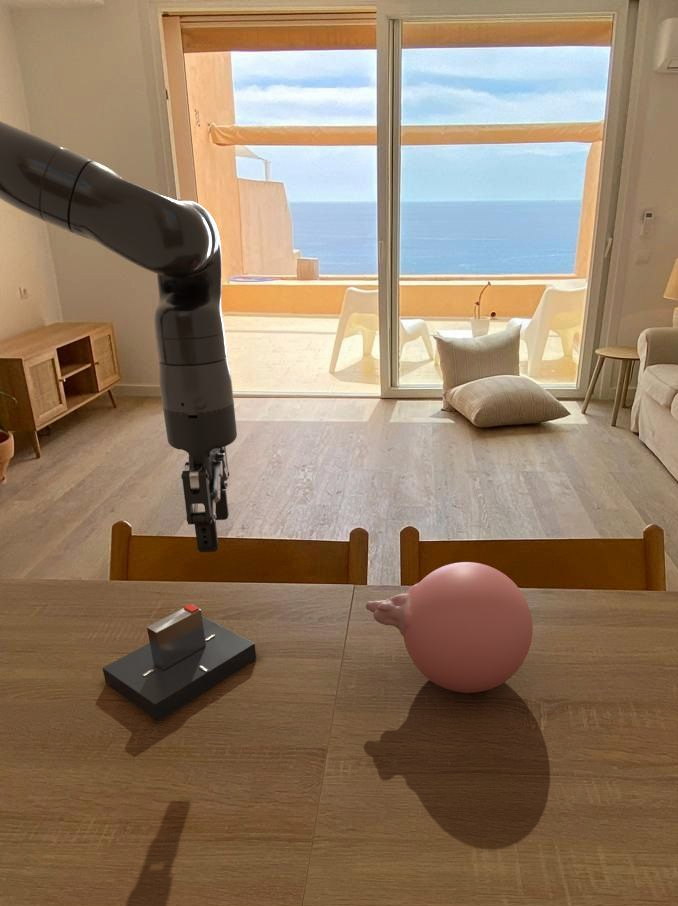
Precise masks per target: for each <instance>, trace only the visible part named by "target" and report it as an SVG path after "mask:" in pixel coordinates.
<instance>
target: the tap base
mask: <svg viewBox="0 0 678 906" xmlns="http://www.w3.org/2000/svg"><path fill="white" fill-rule="evenodd" d="M202 621H203V628H204V635H205V642H206V646H205V647H203V648H201V649H200V650H198V651H196V652H194V653H193V654H191V655H189V656H187V657H186V658H184V659H182V660H180V661H179V662H177V663H175V664H174V665H172V666H170V667H168V668H167V669H165V670H162V669H160V668H158V667H157V666H155V665H154V664H153V658H152V653H151V647H150V642H149V643H147V644H145V645H143V646H141V647H140V648H137V649H136V650H135V649H134V650H133V651H131V652H130V653H128V654H126V655H123V656H122V657H120V658H119V659H116V660H115V661H113V662H111V663H109V664H107V665H105V666H103V667H102V672H103V677H104V682H105V685H106V686H108V687H109V688H110V689H111V690H113V691H114V692H116V693H118V694H119V695H120V696H122V697H123V698H124V699H126V700H127V701H128V702H130V703H131V704H133V705H134V706H136V707H137V708H139V709H140V710H141V711H143V712H144V713H145V714H147V715H149V716H150V717H151V718H152V719H154V720H155V721H157V722H160V721H162V720H163V719H165V718H166V717H168V716H169V715H171V714H173V713H174V712H176V711H177V710H179V709H180V708H181V707H184V706H185V705H186V704H189V703H190V702H191V701H193V700H194V699H196V698H198V697H199V696H201V695H203V694H204V693H206V692H207V691H209V690H210V689H212V688H213V687H215V686H217V685H218V684H220V683H221V682H223V681H224V680H227V679H228V678H230V677H231V676H233V675H234V674H236V673H237V672H239V671H241V670H242V669H244V668H245V667H247V666H248V665H250V664H252V663H253V662H255V661H256V660H257V651H256V644H255V642H253V641H251V640H249V639H247V638H245V637H243V636H242V635H241V634H240V635H239V634H238V633H236V632H234V631H232V630H230V629H228V628H227V627H224V626H222V625H220V624H218V623H217V622H215V621H213V620H211V619H209V618H208V617H205V616H203V615H202Z"/></svg>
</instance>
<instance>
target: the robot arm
mask: <svg viewBox="0 0 678 906" xmlns="http://www.w3.org/2000/svg"><path fill="white" fill-rule="evenodd" d="M0 200H1V201H3V202H5V203H7V204H8V205H9V206H12V207H14V208H15V209H17V210H19V211H21V212H23V213H25V214H27V215H30V216H32V217H34V218H35V219H39V220H41V221H42V222H46V223H48V224H50V225H53V226H55V227H58V228H60V229H62V230H65V231H67V232H69V233H72V234H74V235H77V236H79V237H82V238H85V239H88V240H91V241H94V242H96V243H98V244H100V245H101V246H103V247H104V248H106V249H107V250H109V251H111V252H112V253H114V254H116V255H118V256H119V257H121V258H123V259H125V260H126V261H129V262H130V263H132V264H134V265H136V266H138V267H140V268H142V269H144V270H146V271H149V272H152V273H154V274H156V276H157V277H156V278H157V287H158V302H157V305H156V307H155V310H154V313H153V314H154V315H153V327H154V335H155V344H156V349H157V350H156V351H157V357H158V366H159V368H158V369H159V370H158V371H159V373H158V374H159V377H158V378H159V391H160V396H161V402H162V411H163V416H164V424H165V431H166V439H167V443H168V444H169V445H170V446H171V447H172V448H174V449H176V450H178V451H179V450H182V451H184V452H186V453H187V454H188V461H185V463H184V470H182V472H181V476H180V477H181V480H182V488H183V495H184V497H183V498H184V504H185V505H184V506H185V513H186V522H187V525H194V532H195V539H196V547H197V551H198V552H199V553H216V552H217V551H218V549H219V538H218V530H217V529H218V528H217V521H226V520H227V519H228V518H229V515H230V513H229V512H230V511H229V505H228V494H227V489H228V487H229V482H228V479H229V477H230V471H229V466H228V456H227V449H226V447H227V446H230V445H231V444H232V443H234V442H235V441H236V439H237V436H238V432H237V421H236V411H235V401H234V393H233V391H234V390H233V381H232V375H231V370H230V367H229V363H228V357H227V356H228V355H227V346H226V345H227V344H226V334H225V326H224V321H223V315H222V272H223V271H222V268H223V267H222V248H221V240H220V239H221V238H220V233H219V230H218V227H217V224H216V222H215V220H214V218H213V216H211V214H210V212H208V210H206V208H204V207H203V206H202V205H200V204H199V203H198V202H195V201H192V200H189V199H174V198H172V197H169V196H165V195H162V194H160V193H158V192H155V191H152V190H150V189H148V188H145V187H143V186H140V185H138V184H136V183H133V182H131V181H129V180H126V179H124V178H122V176H121V175H119V174H118V173H117V172H116V171H115V170H113V169H112V168H110V167H107V166H106V165H104V164H102V163H100V162H98V161H95V160H93V159H91V158H89V157H86V156H84V155H81V154H80V153H77V152H76V151H73V150H71V149H68V148H66V147H64V146H61V145H59V144H57V143H54V142H52V141H50V140H47V139H45V138H42V137H40V136H39V135H38V136H37V135H36V134H33V133H30V132H27V131H25V130H23V129H21V128H18V127H15V126H12V125H10V124H8V123H6V122H3V121H0ZM199 505H203V508H204V511H199Z"/></svg>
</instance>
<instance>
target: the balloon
mask: <svg viewBox="0 0 678 906" xmlns="http://www.w3.org/2000/svg"><path fill="white" fill-rule="evenodd" d="M365 609H366V610H368V611H370V612H371V613H373V619H374V620H375V621H376V622H377V623H379V624H381V625H384V626H390V627H391V626H392V627H395V628H396V629H398V630H399V633H400V635H401V636H402V637H403V641H404V645H405V648H406V651H407V653H408V656H409V658H410V659H411V662H413V664H414V666H415V667H416V668H417V669H418V671H419V672H420V673H421V674H422V675H423V676H424V677H425V678H427V679H428V680H429V681H431V682H432V683H433V684H435V685H437V686H439V687H440V688H443V689H445V690H449V691H452V692H457V693H462V694H463V693H464V694H475V693H481V692H486V691H490V690H492V689H495V688H496V687H499V686H501V685H502V684H504V683H505V682H507V681H508V680H509V679H511V678H512V677H513V676H514V675H515V674H516V673H517V671H518V670H519V669H520V668H521V666H522V665H523V663H524V662H525V661H526V658H527V656H528V654H529V651H530V648H531V645H532V640H533V627H534V626H533V619H532V613H531V608H530V606H529V604H528V601H527V599H526V597H525V595H524V594H523V592H522V591H521V589H520V588H519V587H518V585H517V584H516V583H515V582H514V581H513V580H512V579H511V578H509V577H508V576H507V575H506V574H505V573H504V572H502V571H500V570H498V569H497V568H494V567H492V566H490V565H487V564H484V563H479V562H473V561H472V562H471V561H461V562H454V563H449V564H445V565H444V566H441V567H438V568H436V569H434V570H433V571H432V572H430V573H429V574H427V575H426V576H425V577H424V578H422V579H421V580H420V581H419V582H417V583H416V584H414V585H411V586H410V587H409V588H408V590H407V592H406V593H398V594H396V595H394V596H391V597H389V598H387V599H383V600H374V601H373V600H369V601H367V602H366V603H365Z"/></svg>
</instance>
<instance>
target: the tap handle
mask: <svg viewBox="0 0 678 906" xmlns="http://www.w3.org/2000/svg"><path fill="white" fill-rule="evenodd" d="M202 616H203V615H202V609H201V608H199V607H198V606H196V605H194V604H192V603H189V604H187V605H184V606H183V608H180V609H179V610H178V611H175V612H173V613H172V614H169V615H167V616H165V617H163V618H162V619H160V620H158V621H156V622H154V623H152V624H150V625H147V626H146V630H147V635H148V636H147V637H148V640H149V641H148V642H149V643H150V647H151V653H152V658H153V664H154V665H155V666H157V667H158V668H160V669H162V670H165V669H167V668H168V667H170V666H172V665H174V664H175V663H177V662H179V661H180V660H182V659H184V658H186V657H187V656H189V655H191V654H193V653H194V652H196V651H198V650H200V649H201V648H203V647H205V646H206V642H205V635H204V628H203V621H202Z"/></svg>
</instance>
